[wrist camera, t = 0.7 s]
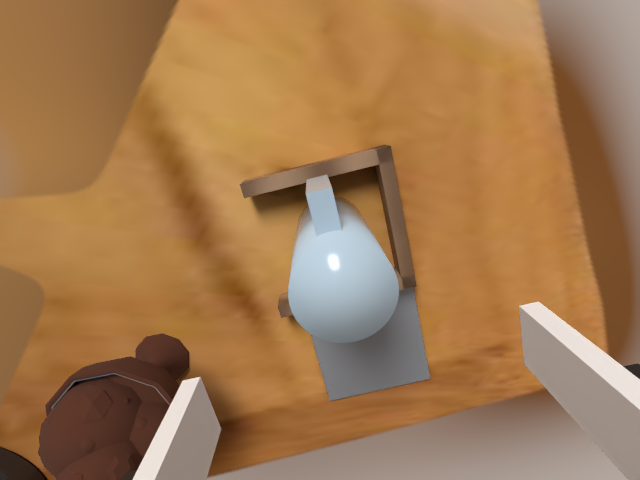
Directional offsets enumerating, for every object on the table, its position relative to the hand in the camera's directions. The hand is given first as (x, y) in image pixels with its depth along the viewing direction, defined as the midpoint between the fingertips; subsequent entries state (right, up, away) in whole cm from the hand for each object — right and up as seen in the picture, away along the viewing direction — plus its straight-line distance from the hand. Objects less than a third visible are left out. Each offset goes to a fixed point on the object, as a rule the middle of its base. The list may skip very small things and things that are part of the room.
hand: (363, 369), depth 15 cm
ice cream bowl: (-18, -7, +23) cm, 30 cm away
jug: (-1, +7, +19) cm, 21 cm away
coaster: (+3, -6, +23) cm, 24 cm away
